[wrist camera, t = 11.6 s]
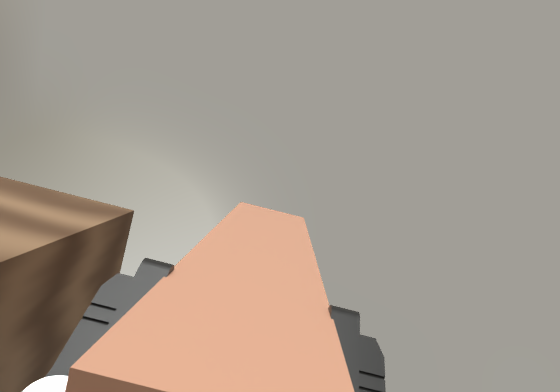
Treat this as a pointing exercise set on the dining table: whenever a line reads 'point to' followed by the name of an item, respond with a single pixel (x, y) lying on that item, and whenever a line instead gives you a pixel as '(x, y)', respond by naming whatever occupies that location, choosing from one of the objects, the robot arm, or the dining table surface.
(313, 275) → the bar
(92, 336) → the robot arm
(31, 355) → the plinth
